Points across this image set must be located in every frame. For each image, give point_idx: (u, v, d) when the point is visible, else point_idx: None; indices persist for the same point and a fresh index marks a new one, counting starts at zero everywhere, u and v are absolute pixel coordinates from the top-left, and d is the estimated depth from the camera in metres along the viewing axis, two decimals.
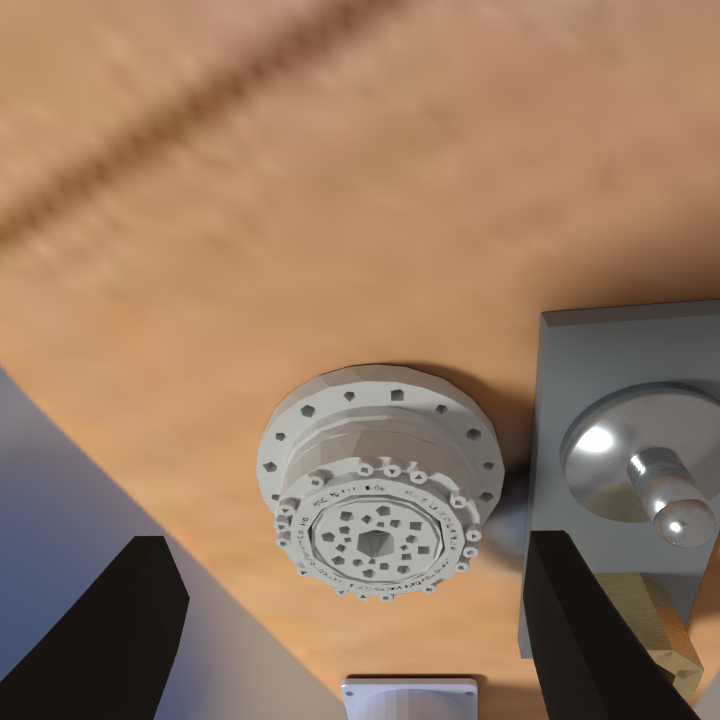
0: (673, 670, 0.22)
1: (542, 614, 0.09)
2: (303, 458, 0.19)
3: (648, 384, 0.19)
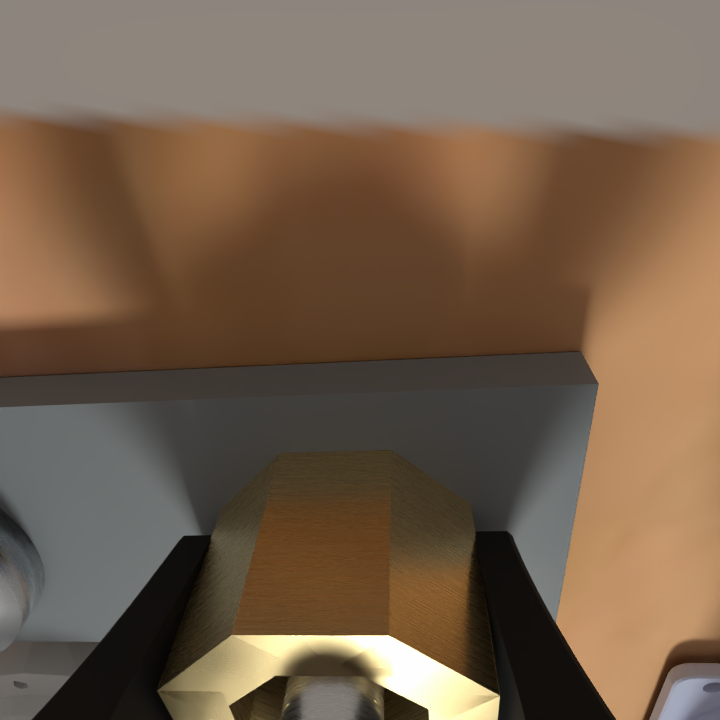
0: (251, 681, 0.08)
1: None
2: None
3: None
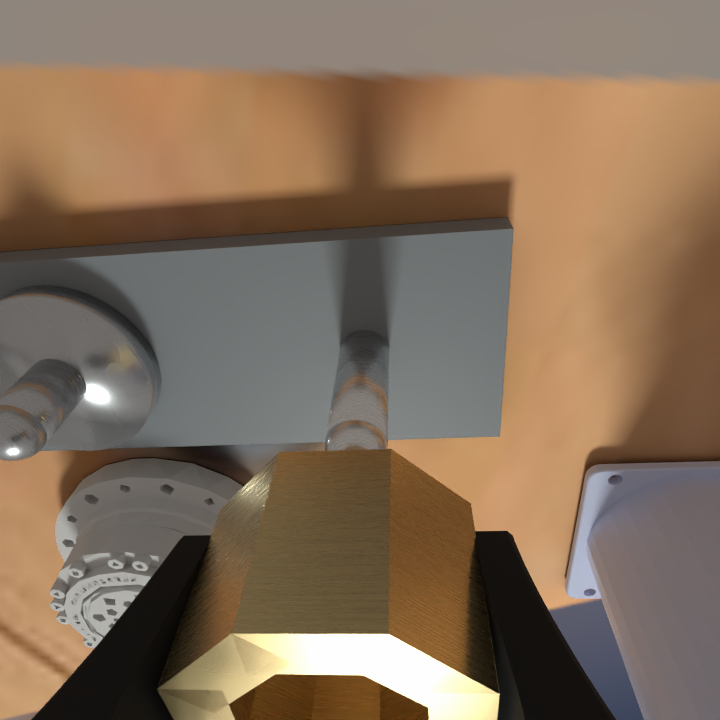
0: (251, 679, 0.08)
1: None
2: None
3: None
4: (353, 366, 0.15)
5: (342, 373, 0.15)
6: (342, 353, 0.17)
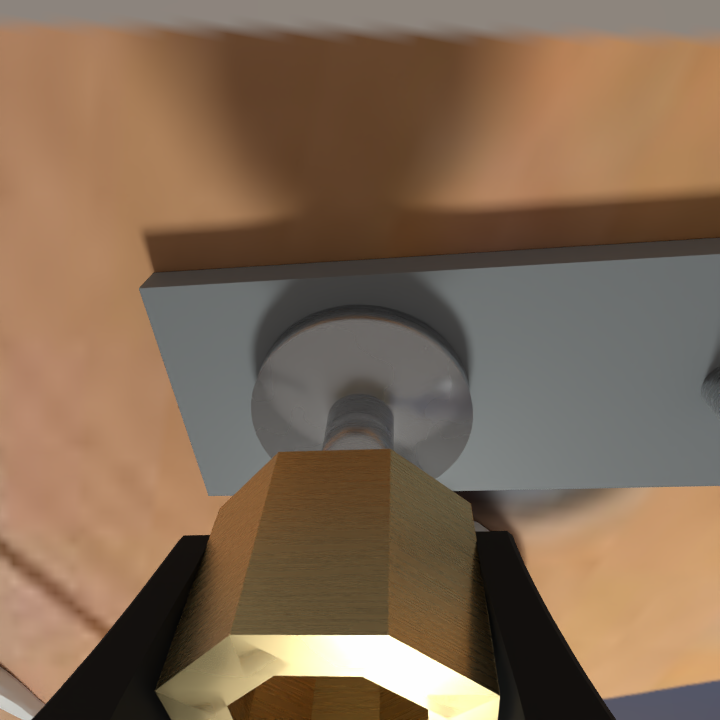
0: (250, 681, 0.08)
1: None
2: None
3: None
4: None
5: None
6: None
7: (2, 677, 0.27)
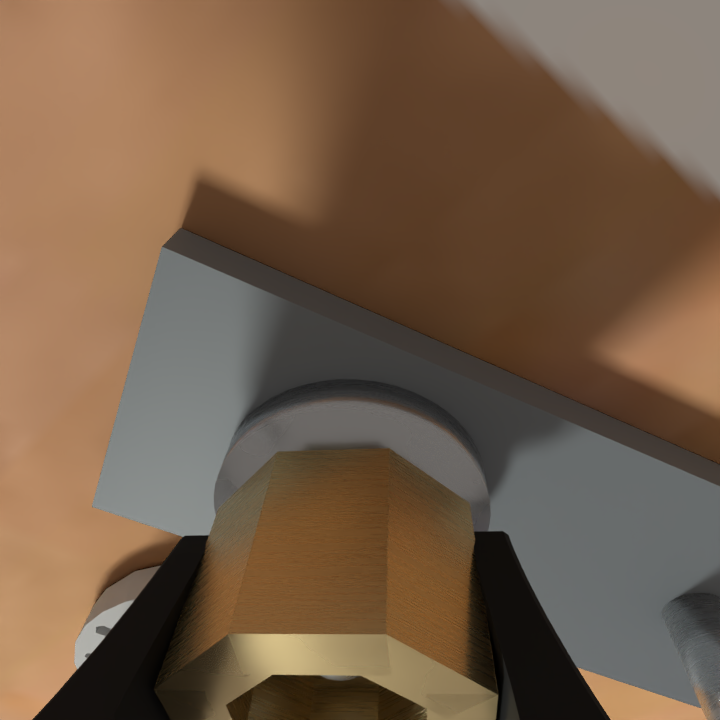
0: (248, 680, 0.08)
1: None
2: None
3: None
4: None
5: None
6: (707, 627, 0.13)
7: None
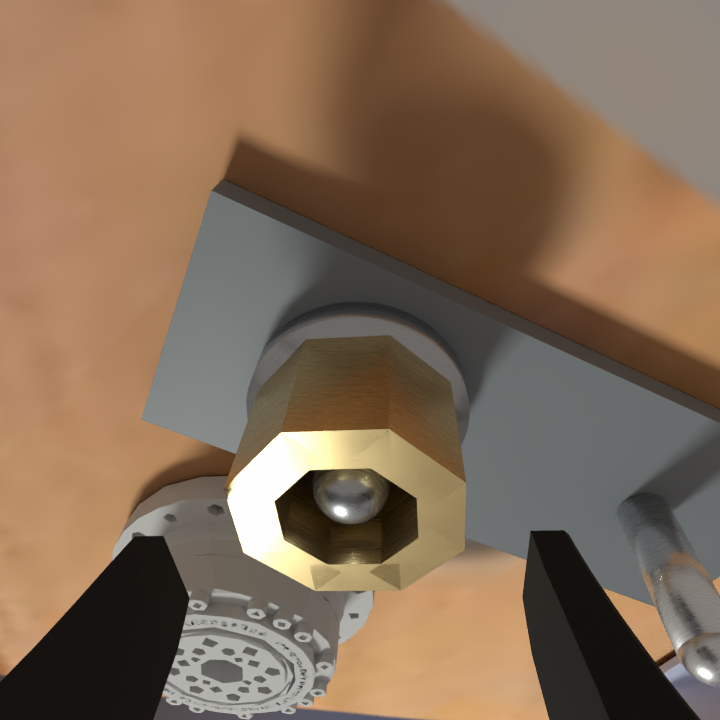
0: (292, 476, 0.11)
1: (542, 614, 0.09)
2: None
3: None
4: (685, 549, 0.15)
5: (674, 552, 0.15)
6: (650, 517, 0.16)
7: None
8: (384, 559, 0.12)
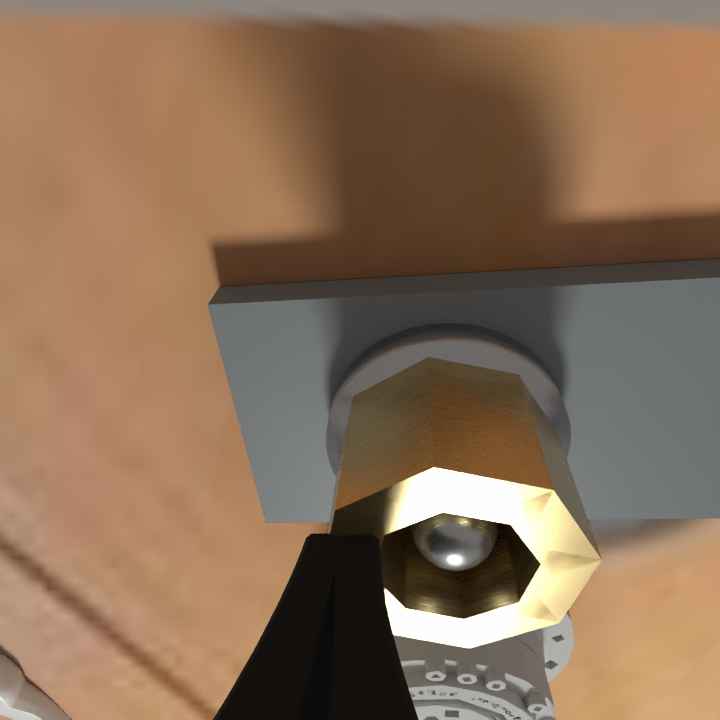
0: None
1: None
2: None
3: None
4: None
5: None
6: None
7: (40, 698, 0.26)
8: (521, 595, 0.11)
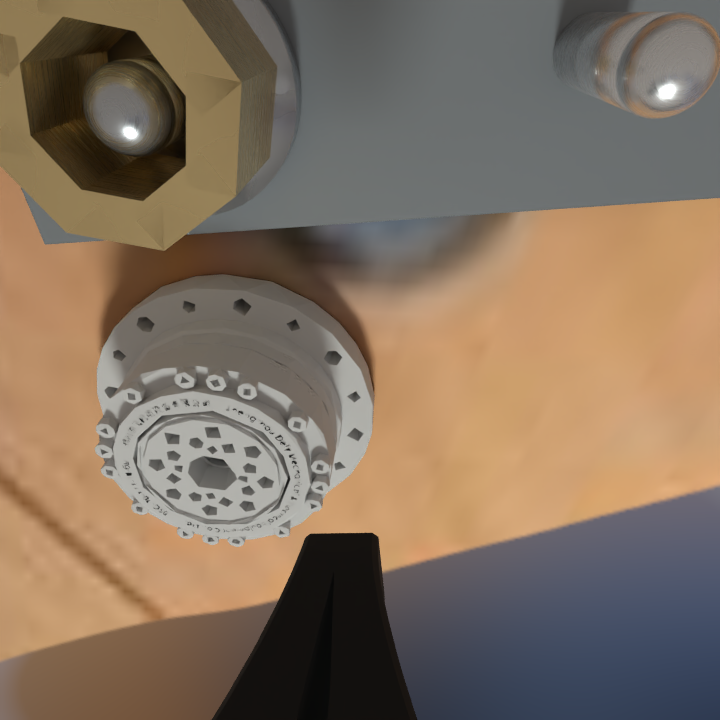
0: (15, 85, 0.10)
1: None
2: None
3: None
4: (614, 13, 0.11)
5: (599, 23, 0.11)
6: (575, 28, 0.12)
7: None
8: (189, 160, 0.11)
